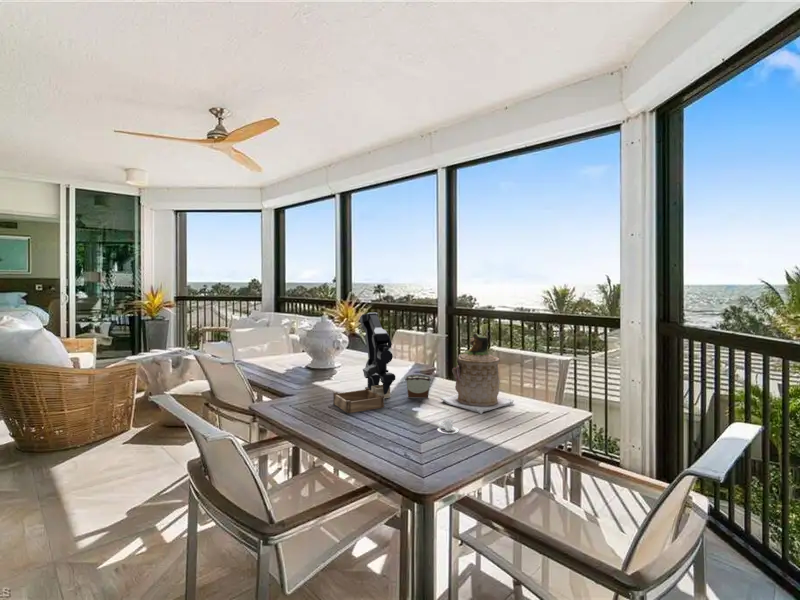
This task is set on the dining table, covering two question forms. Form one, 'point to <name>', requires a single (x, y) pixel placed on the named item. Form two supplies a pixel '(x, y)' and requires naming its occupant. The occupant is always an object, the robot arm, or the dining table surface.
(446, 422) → the teacup and saucer
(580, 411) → the dining table surface
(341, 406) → the crate
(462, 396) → the cookie jar
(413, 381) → the food container
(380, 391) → the pale crate
